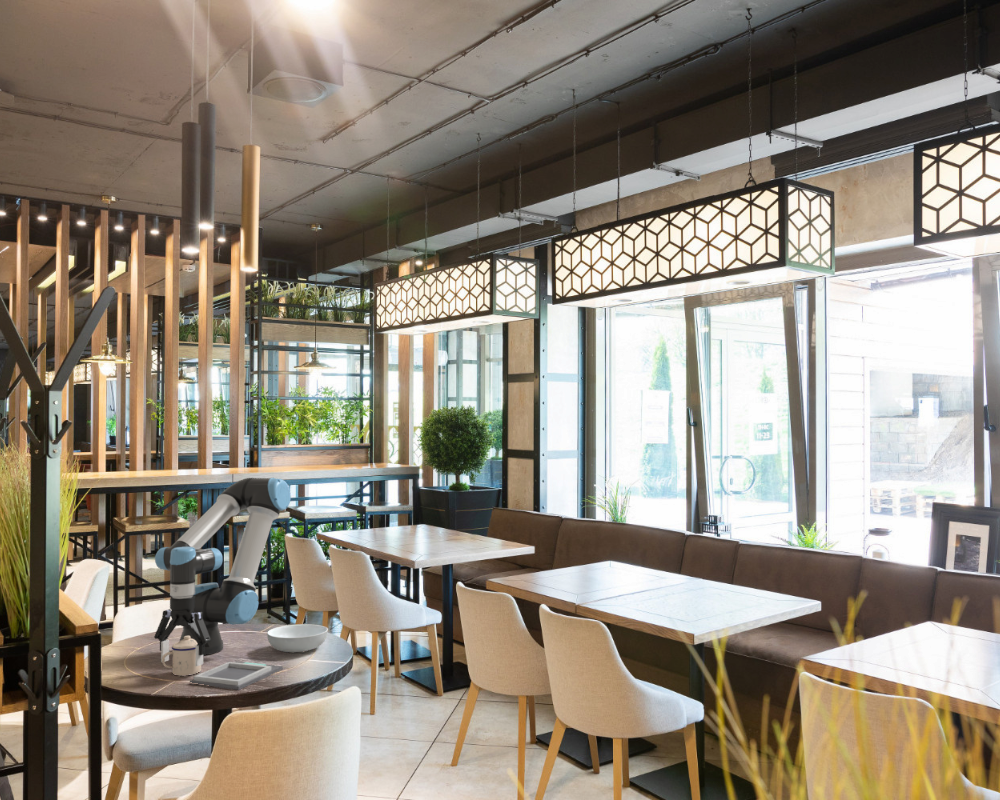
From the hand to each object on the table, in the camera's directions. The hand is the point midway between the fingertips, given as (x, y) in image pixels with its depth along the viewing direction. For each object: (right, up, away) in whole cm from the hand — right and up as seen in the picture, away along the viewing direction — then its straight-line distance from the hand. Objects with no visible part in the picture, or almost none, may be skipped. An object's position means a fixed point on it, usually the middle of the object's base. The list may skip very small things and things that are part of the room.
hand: (182, 663), depth 259 cm
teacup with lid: (0, -4, 0) cm, 4 cm away
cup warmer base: (+19, -3, -4) cm, 19 cm away
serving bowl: (+30, -4, +27) cm, 41 cm away
